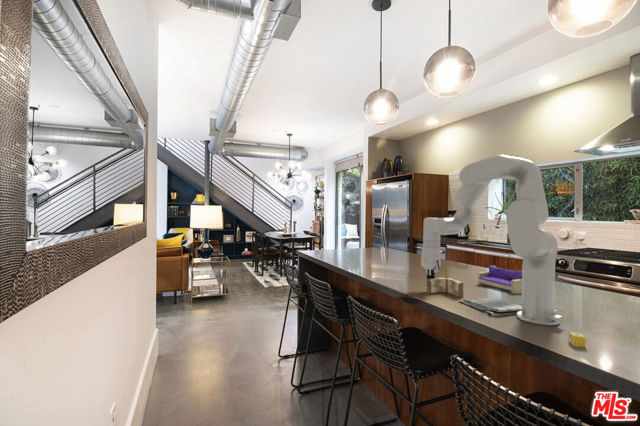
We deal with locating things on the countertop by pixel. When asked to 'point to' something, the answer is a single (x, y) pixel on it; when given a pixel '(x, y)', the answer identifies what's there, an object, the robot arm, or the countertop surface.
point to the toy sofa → (502, 279)
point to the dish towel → (493, 306)
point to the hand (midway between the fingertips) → (430, 283)
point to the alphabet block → (577, 339)
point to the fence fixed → (454, 287)
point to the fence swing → (436, 285)
